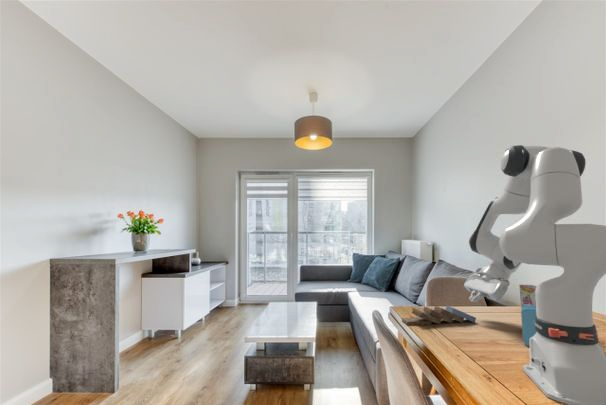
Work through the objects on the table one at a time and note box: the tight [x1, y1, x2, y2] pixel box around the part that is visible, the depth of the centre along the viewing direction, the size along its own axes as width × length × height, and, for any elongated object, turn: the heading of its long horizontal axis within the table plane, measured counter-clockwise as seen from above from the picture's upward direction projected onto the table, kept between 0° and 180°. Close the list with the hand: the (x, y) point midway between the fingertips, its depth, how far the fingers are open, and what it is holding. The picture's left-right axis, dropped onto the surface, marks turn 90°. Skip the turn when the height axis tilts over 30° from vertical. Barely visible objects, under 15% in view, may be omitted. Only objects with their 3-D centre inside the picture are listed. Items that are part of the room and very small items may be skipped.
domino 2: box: [411, 307, 442, 325], centre depth 120 cm, size 2×5×10 cm
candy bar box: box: [519, 284, 538, 311], centre depth 108 cm, size 11×5×16 cm, turn 168°
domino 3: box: [422, 306, 454, 324], centre depth 122 cm, size 2×5×10 cm
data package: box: [520, 306, 537, 348], centre depth 96 cm, size 12×4×12 cm, turn 52°
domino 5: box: [445, 304, 477, 323], centre depth 123 cm, size 2×5×10 cm
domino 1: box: [401, 317, 432, 326], centre depth 121 cm, size 2×5×10 cm
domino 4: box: [433, 305, 465, 323], centre depth 123 cm, size 2×5×10 cm
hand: (471, 301), depth 123 cm, fingers closed
